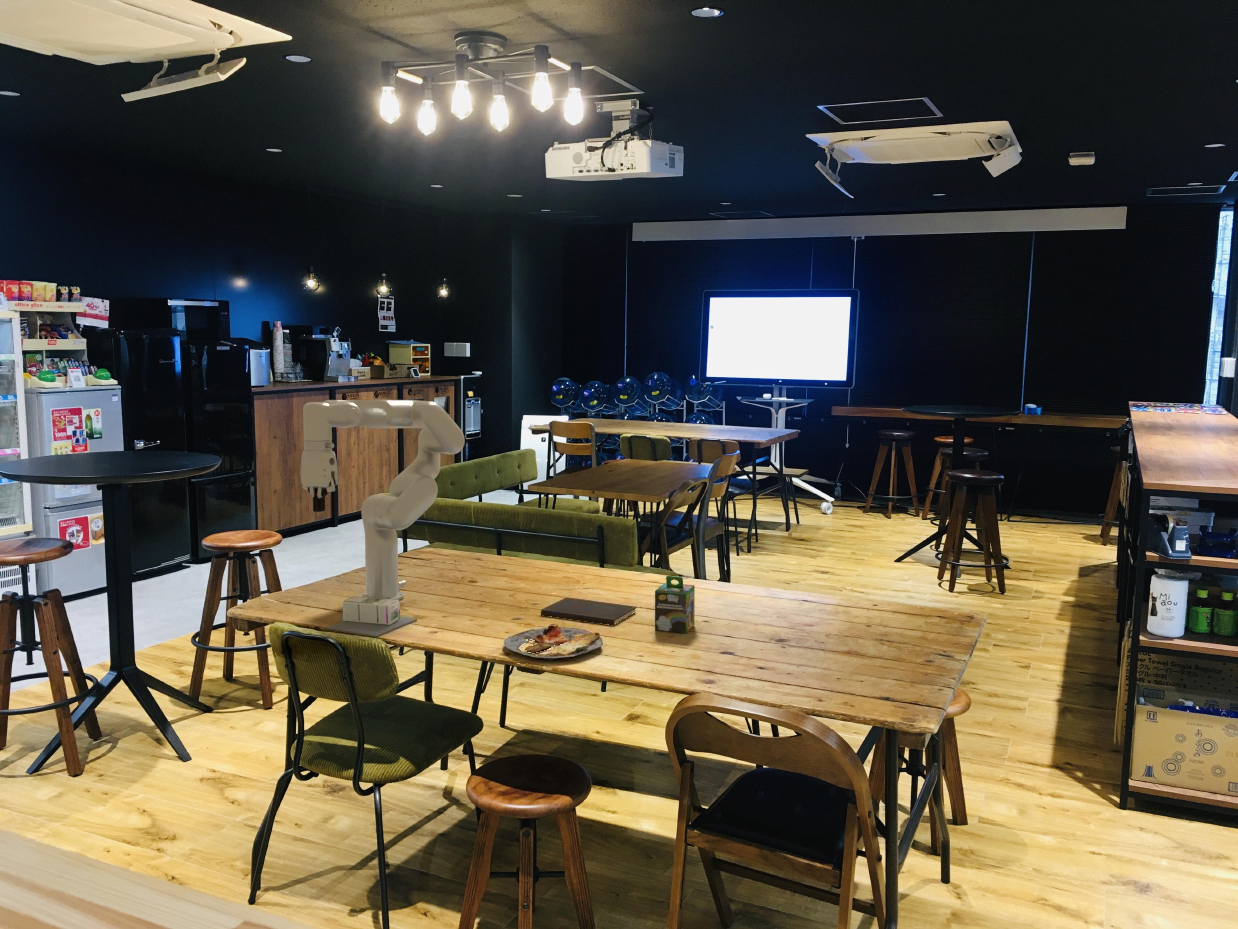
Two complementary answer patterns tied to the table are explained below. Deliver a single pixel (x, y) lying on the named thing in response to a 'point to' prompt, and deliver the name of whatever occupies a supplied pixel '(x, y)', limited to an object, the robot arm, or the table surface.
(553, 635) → the food plate
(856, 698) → the table surface
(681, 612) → the chalk box
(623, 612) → the hardcover book
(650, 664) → the table surface
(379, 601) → the syrup box
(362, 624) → the rubber mat
